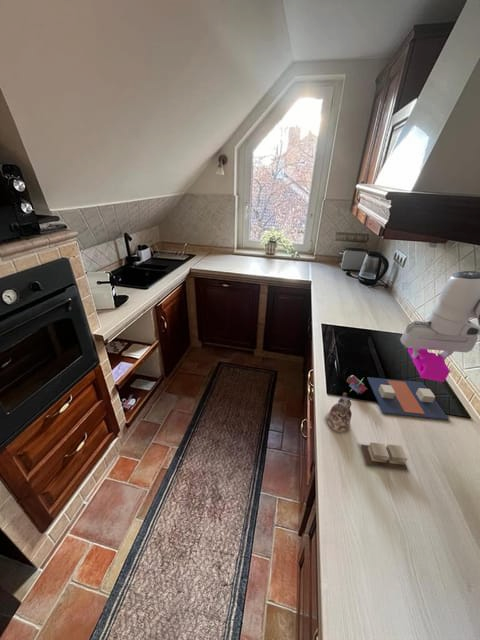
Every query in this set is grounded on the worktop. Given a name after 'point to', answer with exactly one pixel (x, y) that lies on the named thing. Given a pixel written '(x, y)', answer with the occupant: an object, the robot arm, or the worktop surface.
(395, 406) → the blue orange board
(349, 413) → the figurine
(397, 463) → the word strip left
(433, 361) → the toy block
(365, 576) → the worktop surface
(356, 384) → the geometric puzzle
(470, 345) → the robot arm
